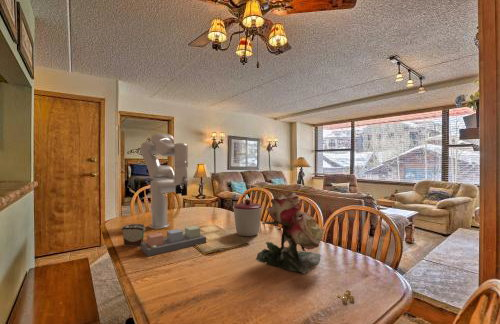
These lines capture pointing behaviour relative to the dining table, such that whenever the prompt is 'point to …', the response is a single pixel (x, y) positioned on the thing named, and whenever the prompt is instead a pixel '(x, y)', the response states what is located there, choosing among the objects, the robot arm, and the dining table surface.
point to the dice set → (346, 294)
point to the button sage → (192, 232)
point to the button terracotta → (154, 239)
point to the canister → (247, 218)
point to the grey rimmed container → (133, 234)
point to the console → (171, 245)
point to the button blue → (174, 235)
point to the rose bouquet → (292, 236)
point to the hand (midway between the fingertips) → (181, 194)
